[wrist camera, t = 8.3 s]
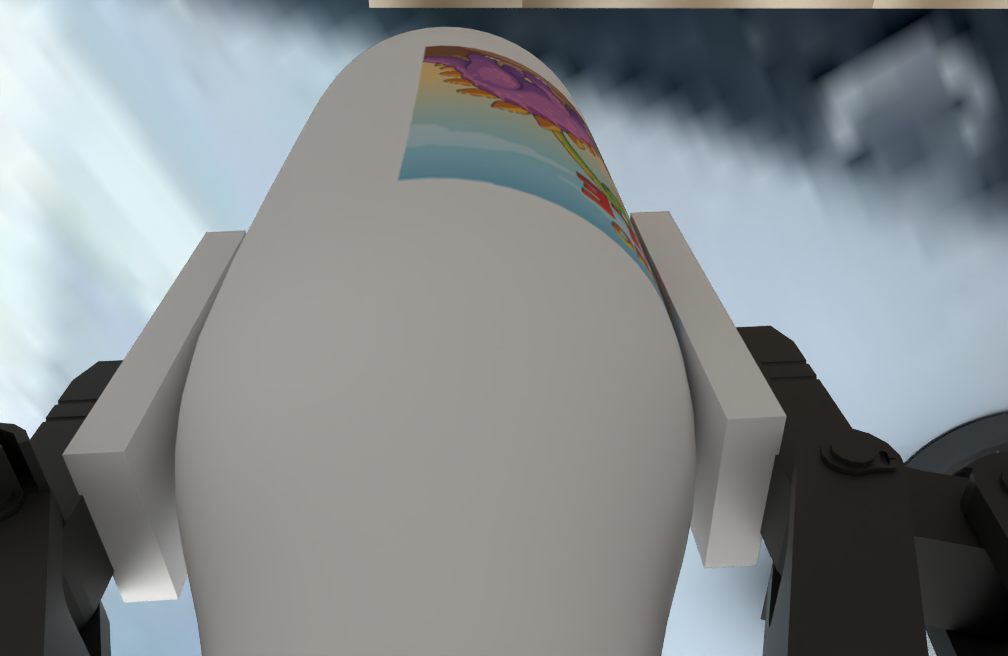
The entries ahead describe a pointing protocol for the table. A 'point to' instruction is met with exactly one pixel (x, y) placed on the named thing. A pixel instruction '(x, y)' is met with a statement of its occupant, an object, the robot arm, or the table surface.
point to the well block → (692, 4)
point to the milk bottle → (437, 383)
